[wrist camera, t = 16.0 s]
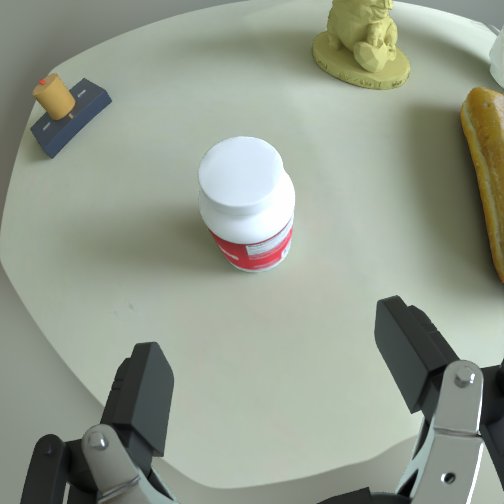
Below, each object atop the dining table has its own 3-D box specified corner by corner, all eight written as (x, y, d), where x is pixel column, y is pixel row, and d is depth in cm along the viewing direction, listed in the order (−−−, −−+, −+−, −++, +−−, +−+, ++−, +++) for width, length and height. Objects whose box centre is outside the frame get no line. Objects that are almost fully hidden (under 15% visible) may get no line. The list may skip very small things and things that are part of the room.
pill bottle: (212, 223, 27) (173, 148, 16) (274, 199, 27) (270, 114, 16) (234, 285, 25) (201, 237, 14) (302, 258, 25) (317, 194, 14)
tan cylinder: (79, 102, 32) (59, 73, 26) (57, 123, 31) (35, 96, 26) (69, 96, 33) (51, 69, 28) (49, 116, 33) (28, 90, 27)
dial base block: (52, 158, 33) (42, 148, 30) (38, 137, 35) (29, 128, 33) (112, 101, 35) (105, 89, 32) (90, 87, 37) (83, 77, 35)
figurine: (391, 105, 30) (421, 6, 16) (293, 61, 34) (291, -32, 19) (417, 64, 33) (440, -11, 19) (337, 29, 37) (343, -44, 22)
